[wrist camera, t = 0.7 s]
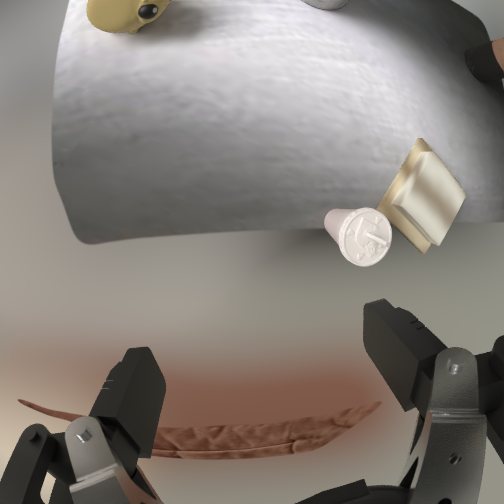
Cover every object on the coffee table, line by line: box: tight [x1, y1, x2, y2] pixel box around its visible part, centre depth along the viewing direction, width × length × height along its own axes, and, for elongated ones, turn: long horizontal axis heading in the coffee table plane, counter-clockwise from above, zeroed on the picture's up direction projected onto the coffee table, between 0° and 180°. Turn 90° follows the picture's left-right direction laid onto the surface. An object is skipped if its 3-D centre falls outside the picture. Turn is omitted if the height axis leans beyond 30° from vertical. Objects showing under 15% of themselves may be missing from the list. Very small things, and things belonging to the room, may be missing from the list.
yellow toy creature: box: [87, 0, 171, 34], centre depth 20 cm, size 10×12×11 cm
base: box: [375, 138, 466, 254], centre depth 34 cm, size 14×12×4 cm
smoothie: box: [324, 208, 392, 266], centre depth 30 cm, size 6×6×14 cm
